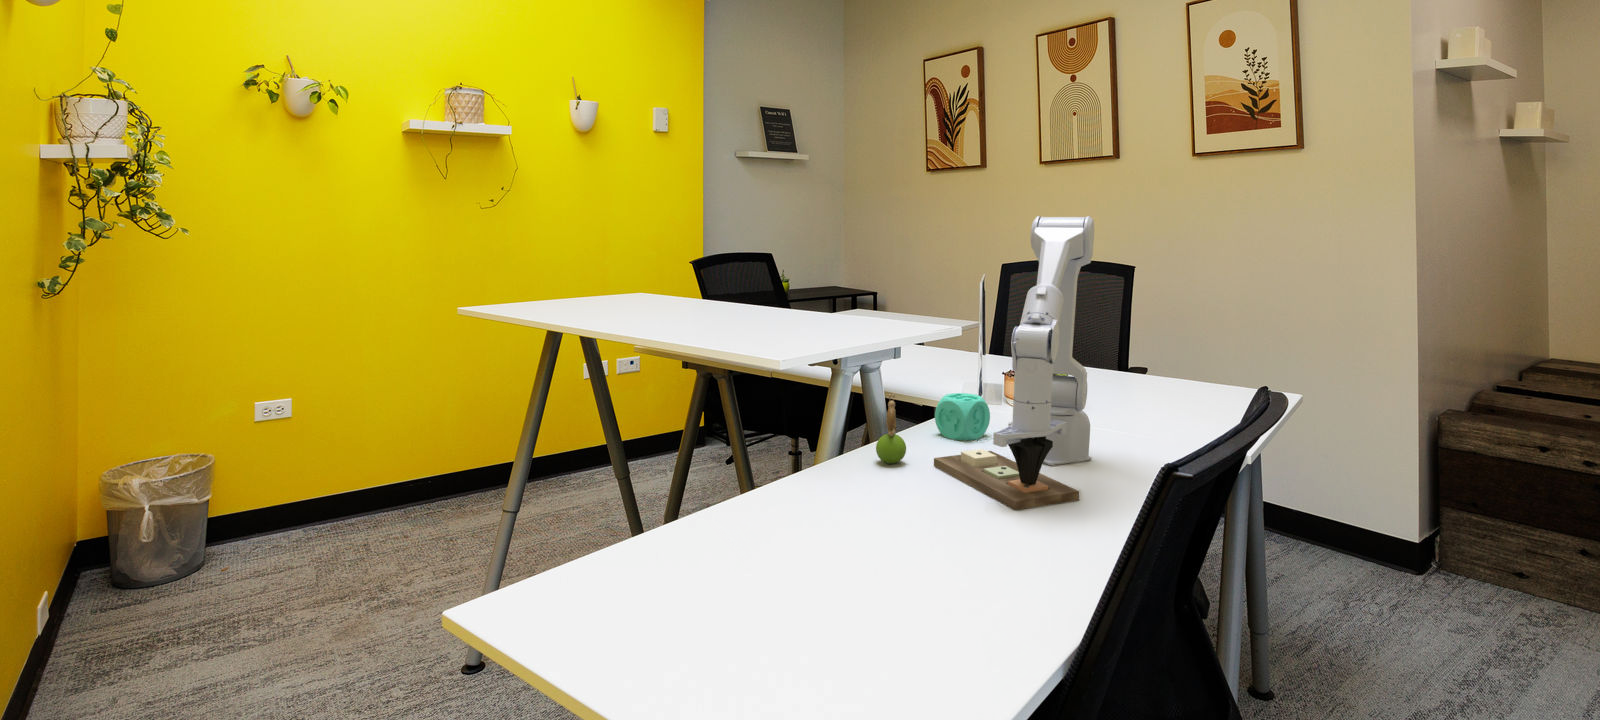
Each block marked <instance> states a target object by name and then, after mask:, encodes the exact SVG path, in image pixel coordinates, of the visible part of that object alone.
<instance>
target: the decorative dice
mask: <svg viewBox="0 0 1600 720" xmlns="http://www.w3.org/2000/svg"><path fill="white" fill-rule="evenodd" d="M934 411H935V412H934V421H935V425H936V427H937V429H938V431H939V433H940V434H941V435H942V436H943V437H944V438H946V439H949V440H955V441H965V442H966V441H975V440H979V439H981V438H982V436H984V435H985V433H986V432H987V430H988V428H989V426H990V420H991V412H990V408H989V405H988V404H987V401H986V400H985V399H984V398H983V397H982V396H981V395H978V394H974V393H965V392H964V393H963V392H953V393H947V394H945V395H943V396H942V398H941V399H940V400H939V401H938V403H937V405H936V407H935V410H934Z"/></svg>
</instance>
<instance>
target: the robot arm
mask: <svg viewBox="0 0 1600 720" xmlns="http://www.w3.org/2000/svg"><path fill="white" fill-rule="evenodd" d="M1094 240H1095V220H1094V219H1093V218H1092V216H1090V215H1089V216H1088V215H1087V216H1041V215H1040V216H1039V215H1037V216H1036V217H1035V218H1034V219H1033V220H1032V224H1031V229H1030V246H1031V249H1032V251H1033V253H1034V256H1035V257H1036V259H1037V262H1038V269H1037V278H1036V285H1034V286H1032V287H1031V288H1030V289H1029V290H1028V291H1027V293H1026V298H1025V302H1024V306H1023V310H1022V315H1021V317H1020V322H1019V326H1017V325H1015V327H1014V328H1013V331H1012V333H1011V339H1010V341H1011V342H1010V343H1011V344H1010V345H1011V346H1010V347H1011V349H1010V351H1011V357H1012V371H1014V376H1013V377H1014V380H1013V399H1012V400H1013V401H1012V402H1013V403H1012V404H1013V405H1012V420H1011V422H1008V423H1007V424H1008V426H1007V427H1005V428H1003V429H1001V430H998V431H994V432H993V438H992V439H993V442H992V443H993V444H992V445H994V446H998V447H1001V448H1006V447H1009V449H1010V451H1011V453H1012V455H1013V457H1014V461H1015V462H1016V464H1017V467H1018V471H1019V476H1020V481H1021V483H1024V484H1027V485H1034V484H1036V481H1037V478H1038V475H1039V473H1041V469H1042V466H1043V464H1046V465H1048V466H1056V465H1063V464H1071V463H1078V462H1086V461H1092V456H1090V454H1089V453H1090V441H1091V440H1090V439H1091V438H1090V437H1091V422H1090V419H1089V416H1088V415H1087V413H1086V412H1085V411H1083V410H1084V409H1085V407H1086V404H1087V398H1088V372H1087V369H1086V367H1085V366H1083V365H1082V364H1081V363H1080V362H1079V361H1077V360H1076V359H1075V358H1074V357H1073V347H1074V346H1073V345H1074V335H1075V334H1074V333H1075V321H1076V320H1075V318H1076V307H1077V305H1076V304H1077V291H1078V290H1077V288H1078V278H1079V274H1080V271H1081V268H1082V267H1084V266H1086V265H1089V264H1091V262H1092V258H1093V251H1094Z"/></svg>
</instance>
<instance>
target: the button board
mask: <svg viewBox="0 0 1600 720" xmlns="http://www.w3.org/2000/svg"><path fill="white" fill-rule="evenodd" d="M986 451H987V452H990V453H992V454H994V455H996V456H997V462H996V465H991V466H983V467H975V468H974V467H972V466H970V465H968V464H966V463H964V462H962V461H961V454H956V455H955V454H954V455H948V456H939V457H933V467H934V466H935V468H936V469H938V470H940V471H942V472H944V473H946V474H947V475H949V476H950V477H951V476H952V477H953V478H955V479H957V480H958V481H961V482H963V483H964V484H966V485H968V486H969V487H972V488H973V489H975V490H976V491H979V492H981V493H983V494H984V495H986V496H987V497H990V498H992V499H994V500H995V501H997V502H999V503H1000V504H1003V505H1004V506H1006V507H1009V508H1010V509H1011V510H1013V511H1020V510H1027V509H1031V508H1033V509H1034V508H1038V507H1039V508H1040V507H1045V506H1051V505H1057V504H1065V503H1071V502H1077V501H1080V490H1078V489H1076V488H1073V487H1071V486H1069V485H1066V484H1065V483H1063V482H1060V481H1058V480H1056V479H1054V478H1051V477H1049V476H1046V475H1045V474H1042V473H1041V472H1039V475H1038V478H1037V481H1039V482H1041V483H1043V484H1045V485H1047V486H1048V490H1041V491H1035V492H1028V493H1024V492H1022V491H1020V490H1018V489H1016V488H1014V487H1012V486H1010V485H1008V481H1012V480H1019V479H1020V477H1014V478H1007V479H1000V480H998V479H996V478H994V477H992V476H990V475H988V474H986V473H984V472H983V470H984V468H992V467H999V466H1007V467H1009V468H1011V469H1014V470H1016V471H1018V467H1017V464H1016V461H1015V460H1014V461H1013V460H1012V459H1010V458H1008V457H1006V456H1003V455H1001V454H999V453H996V452H994V451H992V450H986ZM1018 472H1019V471H1018Z"/></svg>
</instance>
